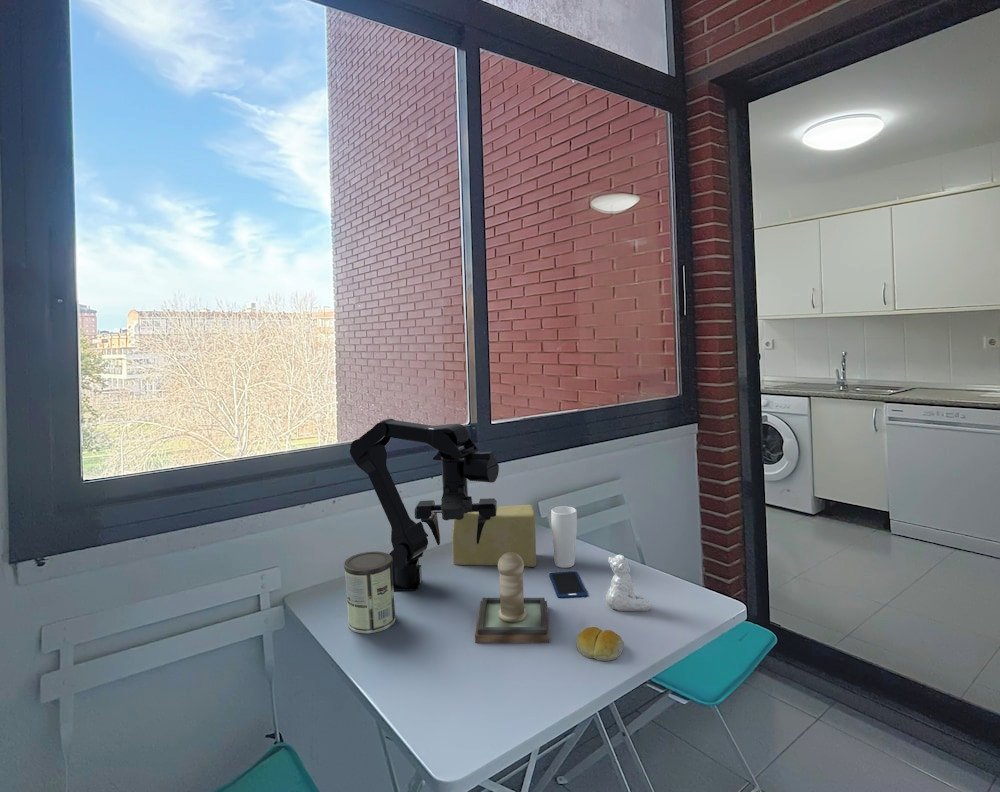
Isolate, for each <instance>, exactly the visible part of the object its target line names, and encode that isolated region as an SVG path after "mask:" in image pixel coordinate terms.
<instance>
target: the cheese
mask: <svg viewBox="0 0 1000 792" xmlns="http://www.w3.org/2000/svg"><path fill="white" fill-rule="evenodd" d="M478 516H479V512H468V513H464V518H463V519H461V520H456V519H453V524H452V528H453V529H452V538H451V539H452V540H451V541H452V563H453V565H456V566H497V567H498V561H499V559H500V557H501V556H502V555H503V554H505V553H508V552H514V553H516V554H518V555H519V556H520V557H521V558H522V560H523V562H524V568H525V567H526V568H527V567H529V568H535V567H536V565H537V555H536V554H537V550H536V549H537V547H536V545H537V544H536V541H537V539H536V536H537V535H536V513H535V511H534V506H533V505H532V504H520V505H503V506H497V513H496V516H494V517H491V519H490V520H486V522H485V524H484V526H483V529H482V532H481V536H480V540H479V544H477V526H478Z"/></svg>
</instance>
